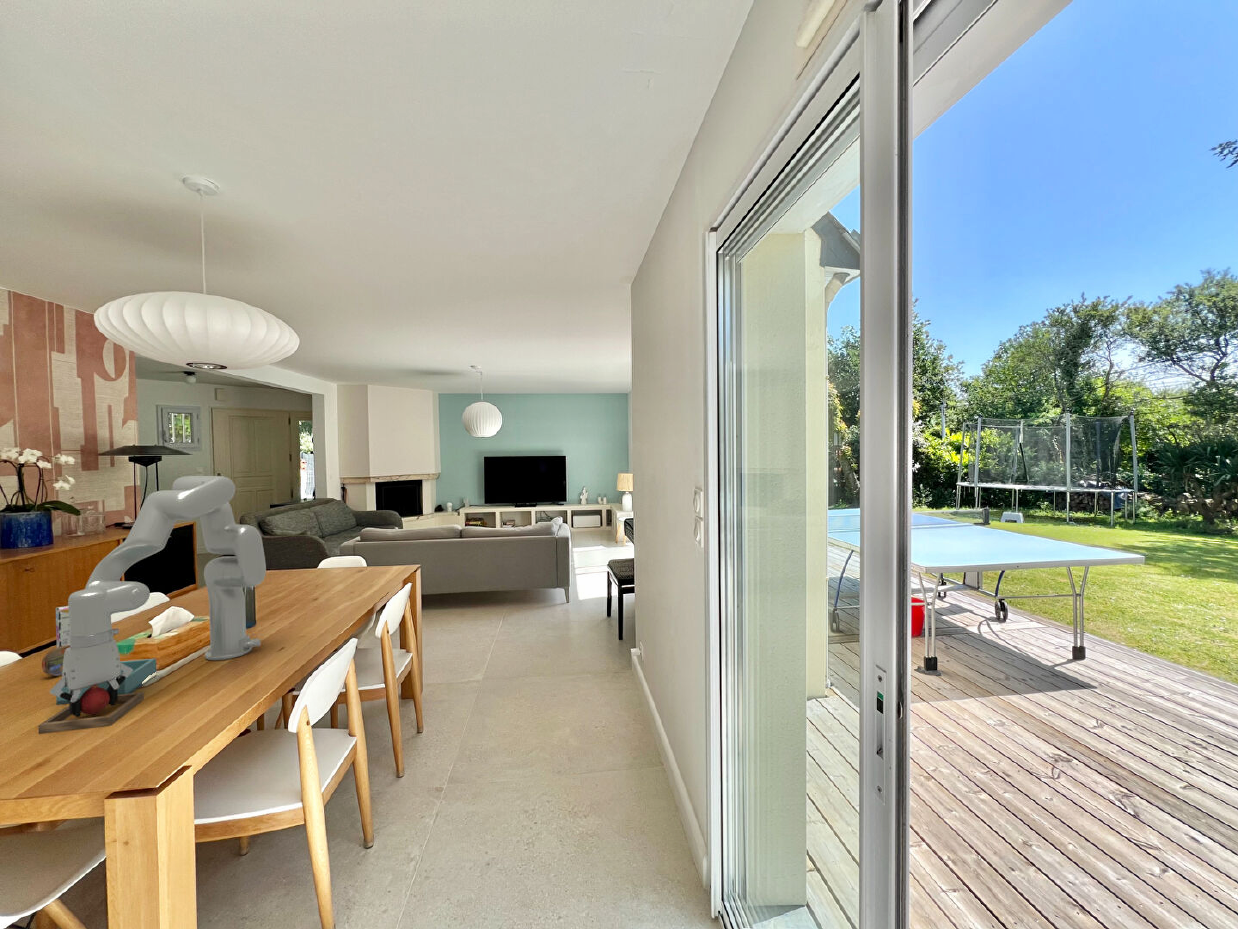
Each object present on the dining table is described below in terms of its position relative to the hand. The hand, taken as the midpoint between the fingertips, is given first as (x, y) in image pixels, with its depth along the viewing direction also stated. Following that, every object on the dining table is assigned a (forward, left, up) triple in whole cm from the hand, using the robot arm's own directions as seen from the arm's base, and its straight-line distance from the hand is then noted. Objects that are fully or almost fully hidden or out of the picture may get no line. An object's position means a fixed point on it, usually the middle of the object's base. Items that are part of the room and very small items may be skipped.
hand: (94, 709), depth 137 cm
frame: (0, 0, -2) cm, 2 cm away
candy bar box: (+31, -50, -2) cm, 59 cm away
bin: (+6, -17, -2) cm, 18 cm away
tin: (+25, -36, -2) cm, 44 cm away
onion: (0, 0, -2) cm, 2 cm away
